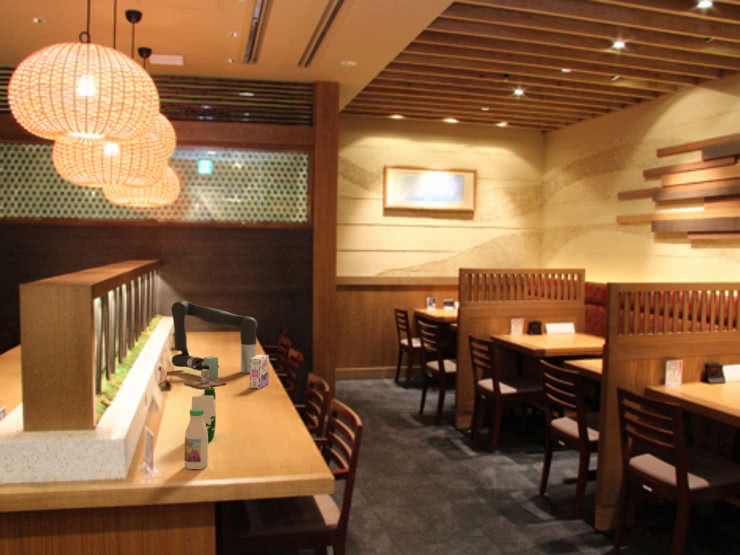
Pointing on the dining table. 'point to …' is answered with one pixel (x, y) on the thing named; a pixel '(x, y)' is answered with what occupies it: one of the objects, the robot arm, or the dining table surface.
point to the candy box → (259, 371)
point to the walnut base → (200, 385)
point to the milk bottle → (196, 441)
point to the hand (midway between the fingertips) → (213, 367)
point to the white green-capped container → (207, 408)
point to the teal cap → (212, 366)
